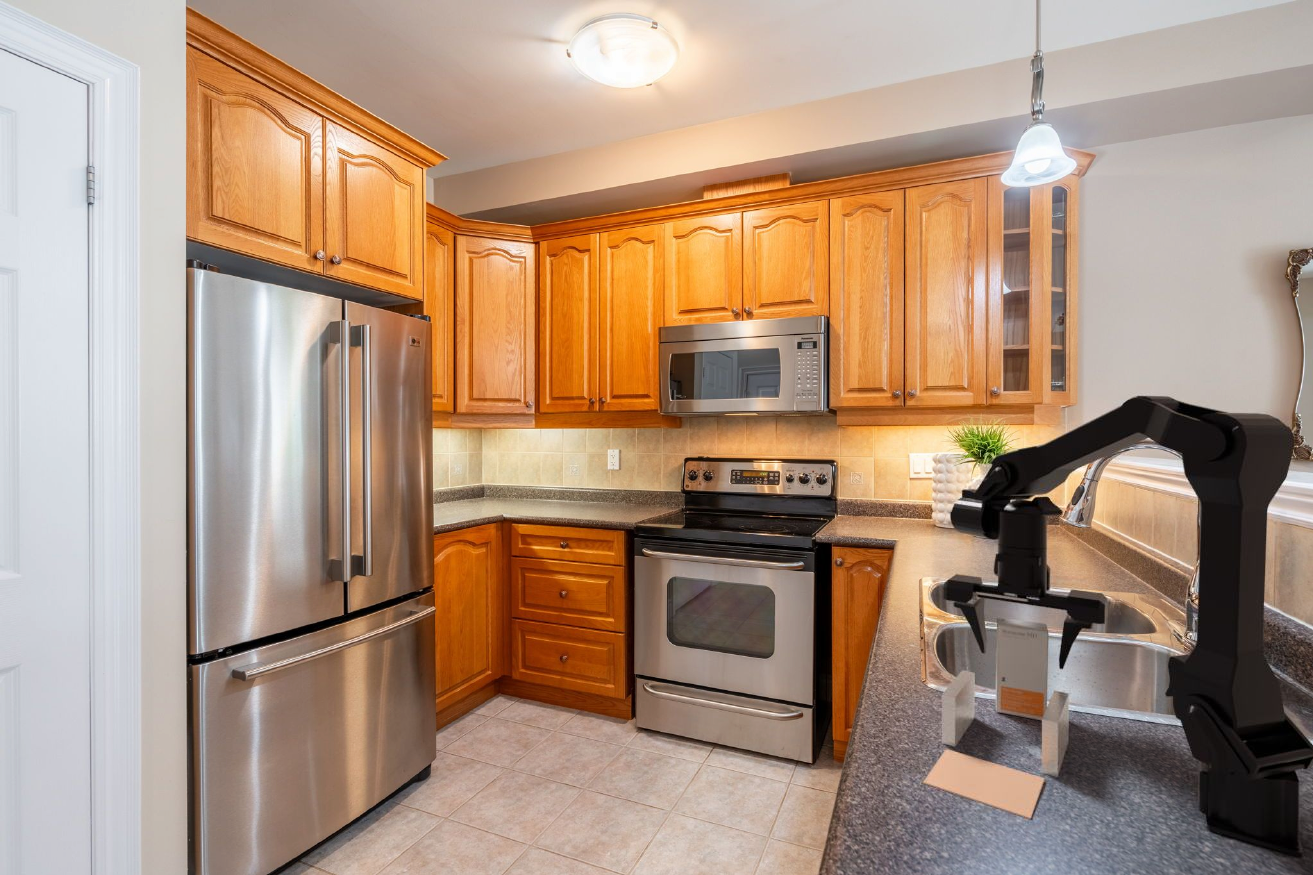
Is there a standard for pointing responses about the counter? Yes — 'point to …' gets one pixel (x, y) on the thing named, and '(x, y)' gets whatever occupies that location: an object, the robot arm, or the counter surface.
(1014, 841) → the counter surface
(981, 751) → the counter surface
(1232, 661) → the robot arm
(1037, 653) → the skincare box
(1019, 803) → the tile
